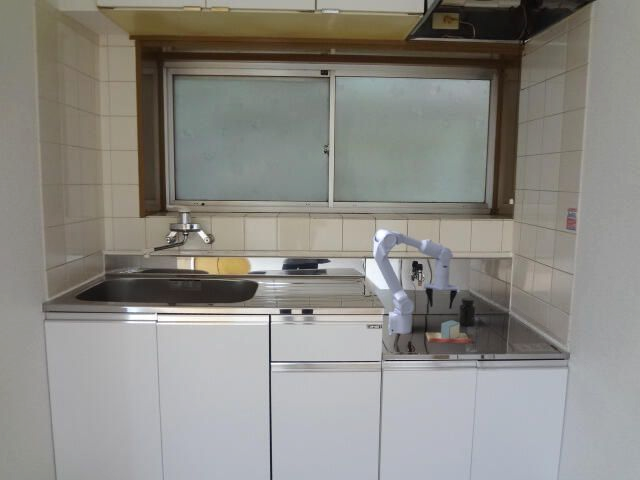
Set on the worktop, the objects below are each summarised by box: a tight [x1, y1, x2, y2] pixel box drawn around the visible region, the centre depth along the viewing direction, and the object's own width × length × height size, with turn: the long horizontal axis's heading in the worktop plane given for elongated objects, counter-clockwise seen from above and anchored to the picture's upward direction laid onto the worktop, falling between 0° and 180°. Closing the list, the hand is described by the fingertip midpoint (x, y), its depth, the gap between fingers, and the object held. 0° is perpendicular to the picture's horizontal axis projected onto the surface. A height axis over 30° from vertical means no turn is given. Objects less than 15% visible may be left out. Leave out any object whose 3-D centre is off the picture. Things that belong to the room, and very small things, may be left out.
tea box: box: [440, 319, 461, 338], centre depth 176 cm, size 4×6×6 cm
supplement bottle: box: [457, 297, 477, 328], centre depth 191 cm, size 7×7×12 cm
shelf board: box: [425, 332, 473, 344], centre depth 177 cm, size 16×10×2 cm, turn 85°
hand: (440, 307), depth 186 cm, fingers open, 7 cm apart
